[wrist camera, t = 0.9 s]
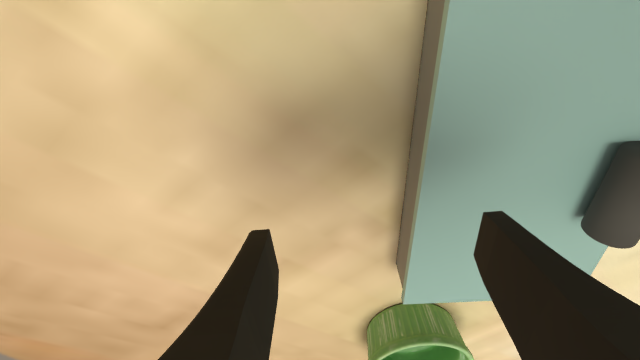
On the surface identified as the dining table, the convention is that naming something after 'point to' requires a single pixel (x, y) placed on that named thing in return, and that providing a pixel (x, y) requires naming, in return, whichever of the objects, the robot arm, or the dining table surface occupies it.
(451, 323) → the ramekin
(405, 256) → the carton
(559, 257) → the robot arm
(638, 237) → the lid
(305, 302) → the dining table surface
